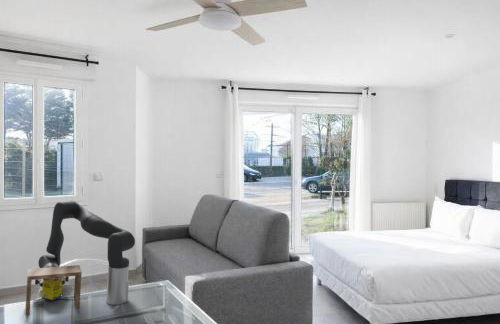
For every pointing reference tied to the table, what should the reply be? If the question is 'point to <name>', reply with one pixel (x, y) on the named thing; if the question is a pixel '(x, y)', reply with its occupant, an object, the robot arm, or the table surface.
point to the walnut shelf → (54, 273)
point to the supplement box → (52, 288)
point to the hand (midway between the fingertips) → (52, 284)
